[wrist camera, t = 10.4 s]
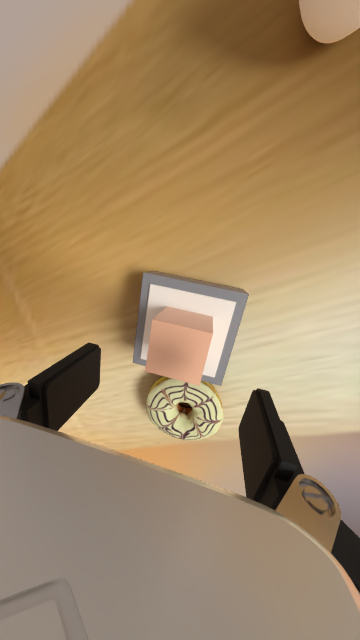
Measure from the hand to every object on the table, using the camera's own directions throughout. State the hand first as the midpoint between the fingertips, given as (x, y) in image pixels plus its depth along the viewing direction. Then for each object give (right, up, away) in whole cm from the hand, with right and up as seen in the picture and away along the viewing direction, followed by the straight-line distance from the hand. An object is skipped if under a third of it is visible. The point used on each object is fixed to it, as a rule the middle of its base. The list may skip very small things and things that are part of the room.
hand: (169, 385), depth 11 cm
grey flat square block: (+2, +4, +13) cm, 14 cm away
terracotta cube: (+1, +2, +9) cm, 10 cm away
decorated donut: (+2, -8, +17) cm, 19 cm away
